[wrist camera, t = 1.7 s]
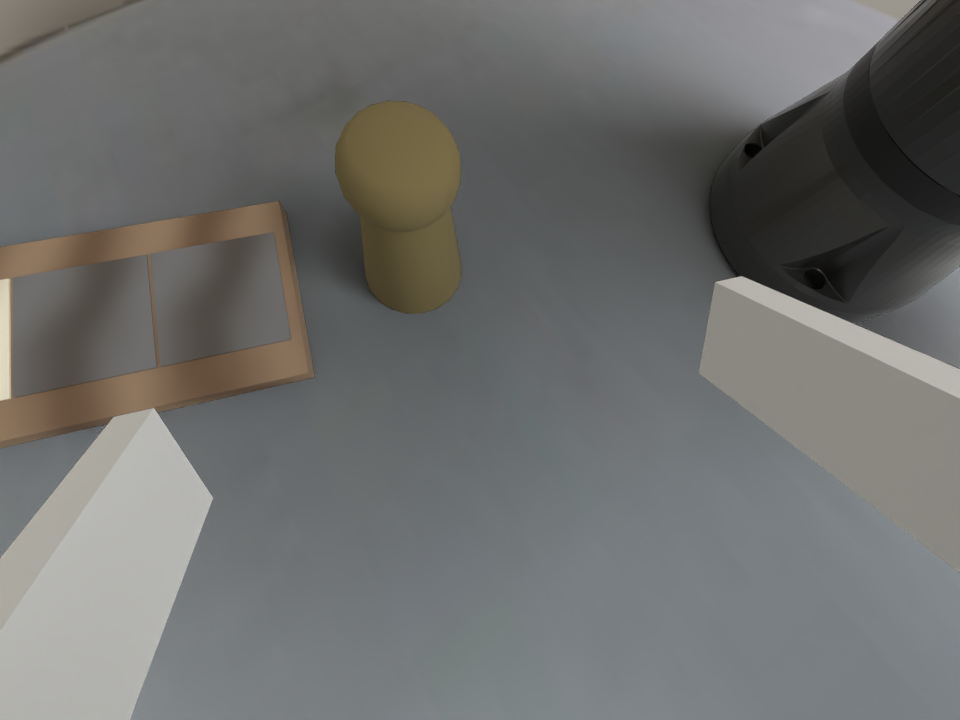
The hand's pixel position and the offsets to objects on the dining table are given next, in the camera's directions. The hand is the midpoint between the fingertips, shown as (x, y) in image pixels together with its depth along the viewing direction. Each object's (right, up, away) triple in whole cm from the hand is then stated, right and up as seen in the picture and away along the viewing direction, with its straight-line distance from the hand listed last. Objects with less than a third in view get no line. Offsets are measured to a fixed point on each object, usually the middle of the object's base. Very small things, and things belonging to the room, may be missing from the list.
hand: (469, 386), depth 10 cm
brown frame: (-21, +2, +14) cm, 26 cm away
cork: (-4, +6, +17) cm, 18 cm away
